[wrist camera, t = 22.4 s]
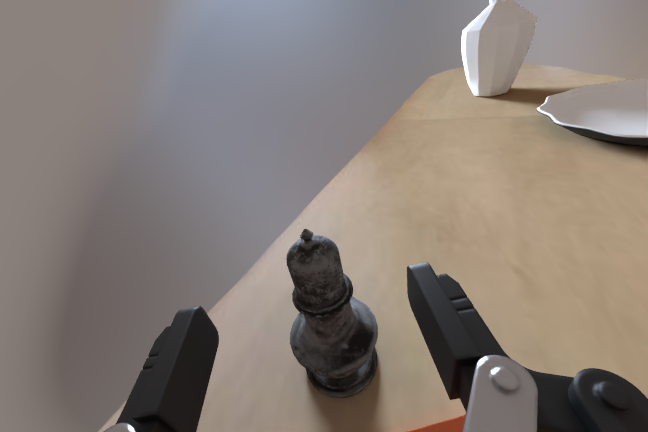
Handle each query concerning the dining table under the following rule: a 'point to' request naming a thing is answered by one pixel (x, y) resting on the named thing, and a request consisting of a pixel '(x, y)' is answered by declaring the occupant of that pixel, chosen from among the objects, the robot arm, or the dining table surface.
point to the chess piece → (330, 320)
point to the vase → (496, 46)
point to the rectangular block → (444, 426)
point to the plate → (603, 111)
